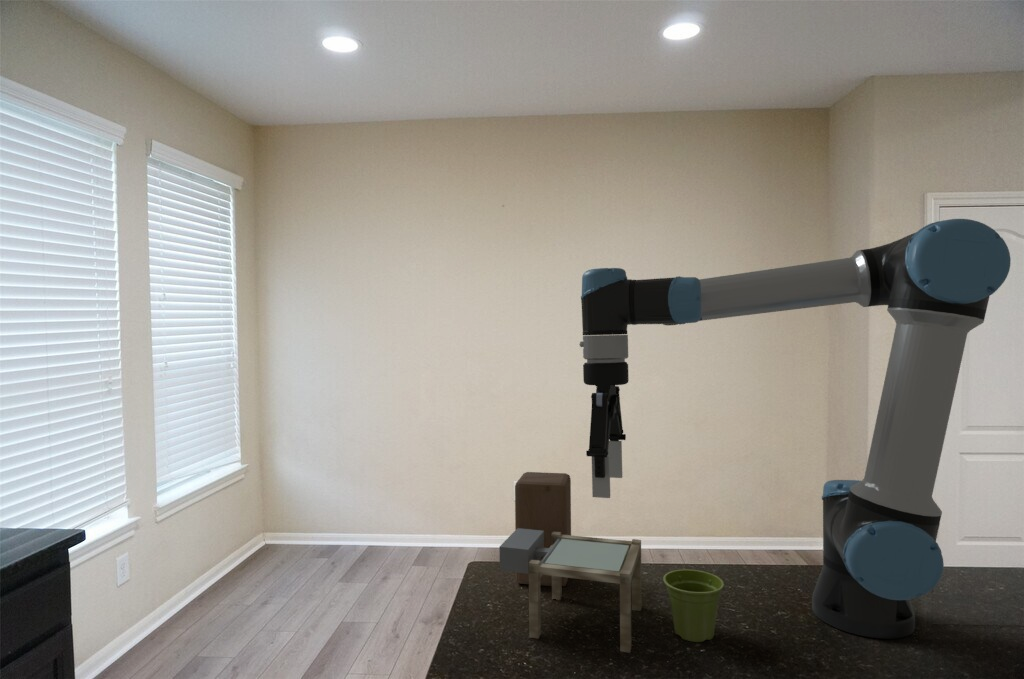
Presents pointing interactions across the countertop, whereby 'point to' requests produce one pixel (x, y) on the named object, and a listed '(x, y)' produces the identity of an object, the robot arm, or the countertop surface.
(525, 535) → the trapdoor
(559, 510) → the wooden block
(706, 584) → the plant pot
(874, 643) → the countertop surface
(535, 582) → the frame
